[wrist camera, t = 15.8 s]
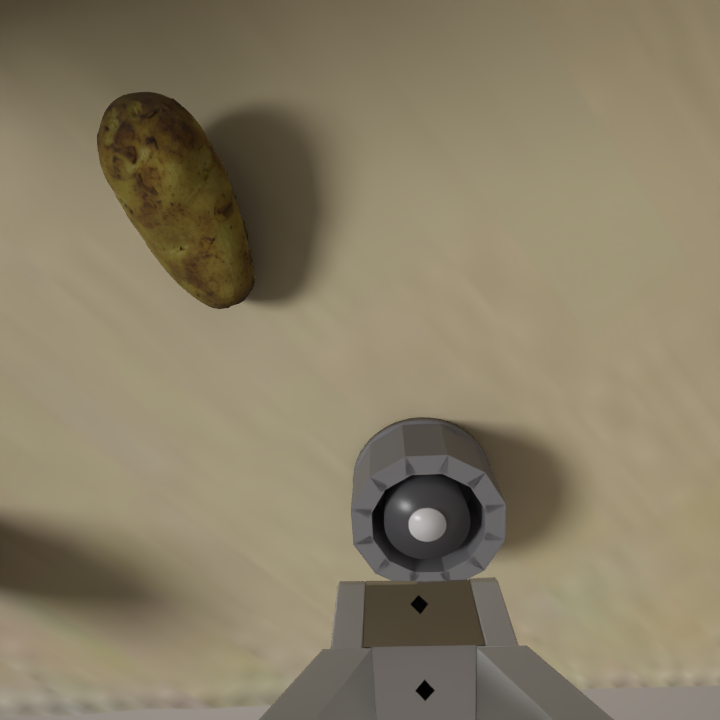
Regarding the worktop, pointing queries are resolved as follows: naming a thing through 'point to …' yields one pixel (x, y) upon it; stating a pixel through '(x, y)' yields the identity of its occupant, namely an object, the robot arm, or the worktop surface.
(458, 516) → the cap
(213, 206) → the potato
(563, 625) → the worktop surface
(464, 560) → the faceted grey cup
